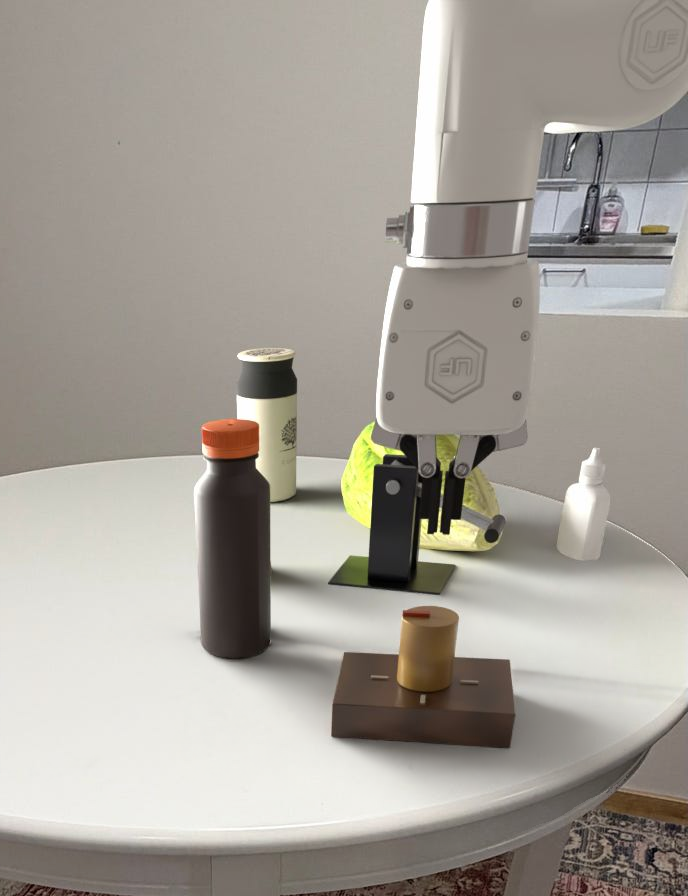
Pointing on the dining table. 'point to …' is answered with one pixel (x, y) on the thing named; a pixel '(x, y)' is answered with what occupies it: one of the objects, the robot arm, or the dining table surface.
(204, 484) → the vinegar
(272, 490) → the travel mug
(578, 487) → the eye dropper bottle
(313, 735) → the dining table surface
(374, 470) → the black lever stand
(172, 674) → the dining table surface
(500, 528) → the faucet lever
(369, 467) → the lettuce
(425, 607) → the tap knob
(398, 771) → the dining table surface
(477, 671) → the knob panel
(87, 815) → the dining table surface
